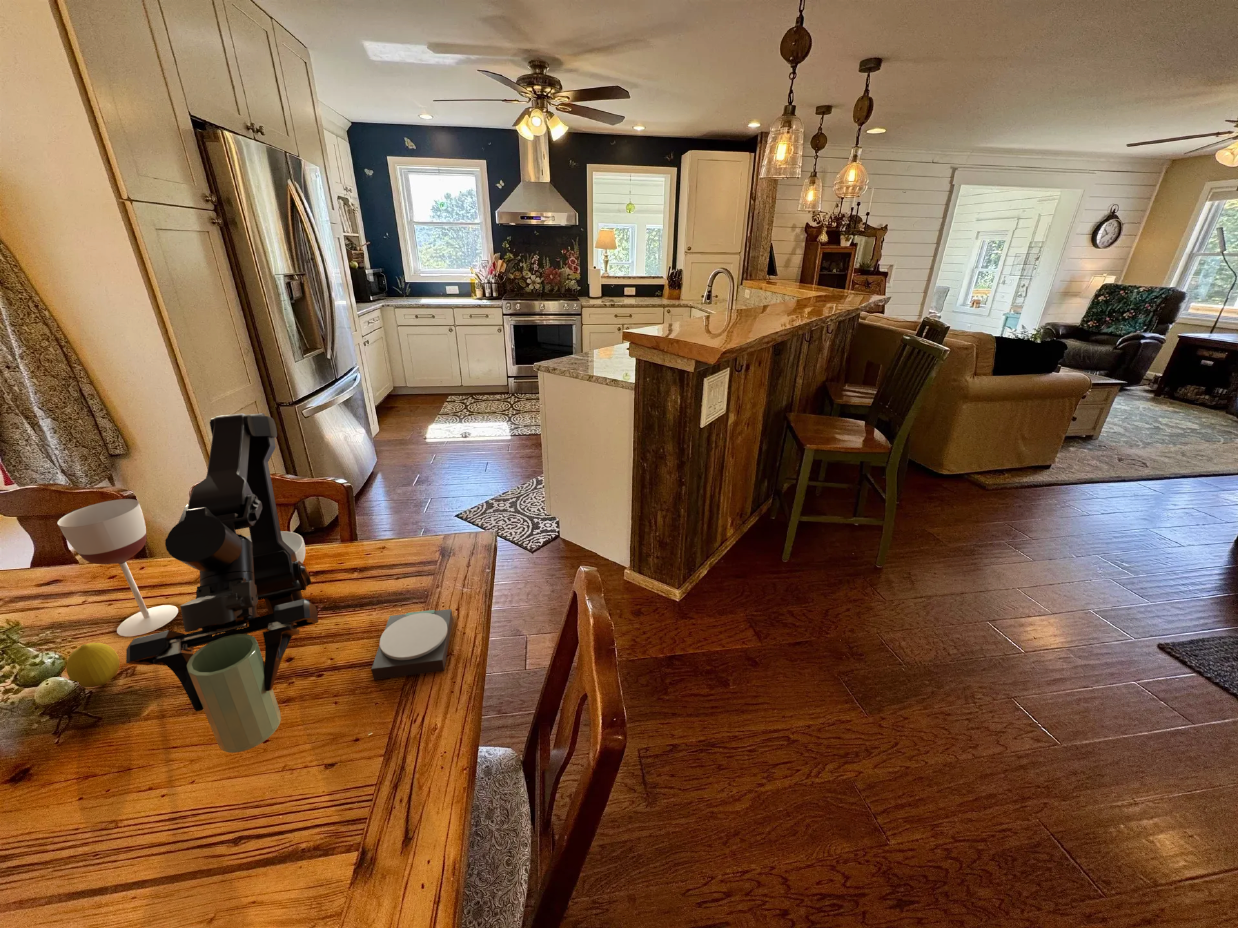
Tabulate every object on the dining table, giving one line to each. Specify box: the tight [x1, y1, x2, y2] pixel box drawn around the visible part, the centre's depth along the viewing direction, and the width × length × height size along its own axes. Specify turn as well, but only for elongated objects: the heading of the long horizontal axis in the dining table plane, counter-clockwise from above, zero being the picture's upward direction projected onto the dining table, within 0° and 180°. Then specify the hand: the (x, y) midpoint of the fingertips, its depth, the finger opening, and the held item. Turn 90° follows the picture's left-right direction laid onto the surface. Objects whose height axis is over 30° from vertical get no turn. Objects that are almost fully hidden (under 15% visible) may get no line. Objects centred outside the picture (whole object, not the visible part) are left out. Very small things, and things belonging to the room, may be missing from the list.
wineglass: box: [57, 498, 179, 637], centre depth 88 cm, size 9×10×23 cm
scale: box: [370, 608, 454, 681], centre depth 86 cm, size 13×11×3 cm
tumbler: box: [187, 634, 282, 754], centre depth 62 cm, size 7×7×13 cm
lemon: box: [65, 642, 121, 688], centre depth 77 cm, size 6×6×8 cm
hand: (234, 700), depth 61 cm, fingers closed on tumbler, 7 cm apart
